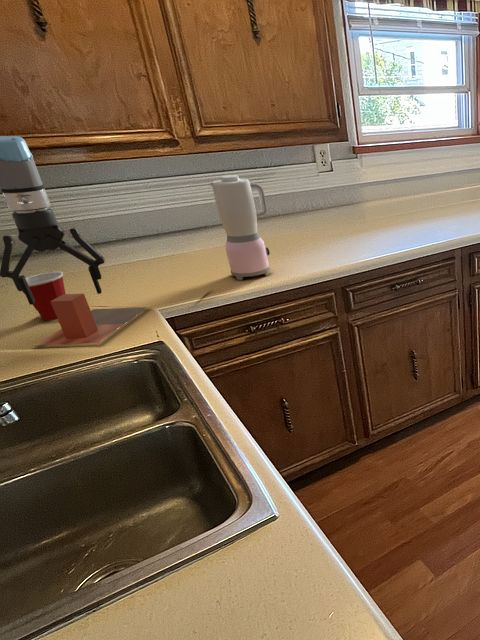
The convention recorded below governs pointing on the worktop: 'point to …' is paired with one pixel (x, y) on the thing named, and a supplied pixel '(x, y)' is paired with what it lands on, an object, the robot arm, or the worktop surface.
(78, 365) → the worktop surface
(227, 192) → the blender
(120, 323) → the sorting board
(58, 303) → the terracotta block
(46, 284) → the plastic cup
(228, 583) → the worktop surface
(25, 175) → the robot arm
